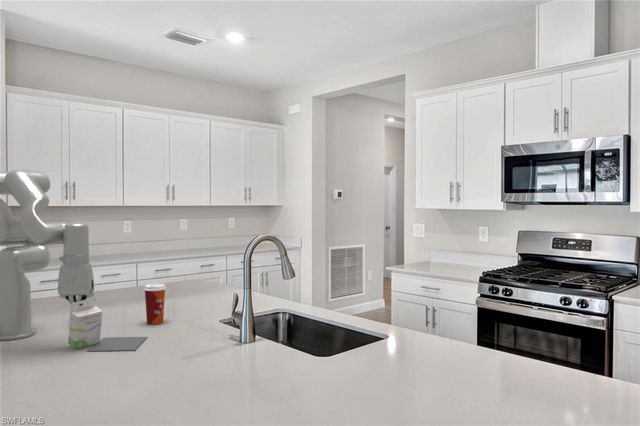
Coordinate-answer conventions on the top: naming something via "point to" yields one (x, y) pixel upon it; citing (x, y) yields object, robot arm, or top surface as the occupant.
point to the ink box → (84, 324)
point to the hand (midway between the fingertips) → (77, 314)
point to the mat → (117, 344)
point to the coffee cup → (154, 303)
